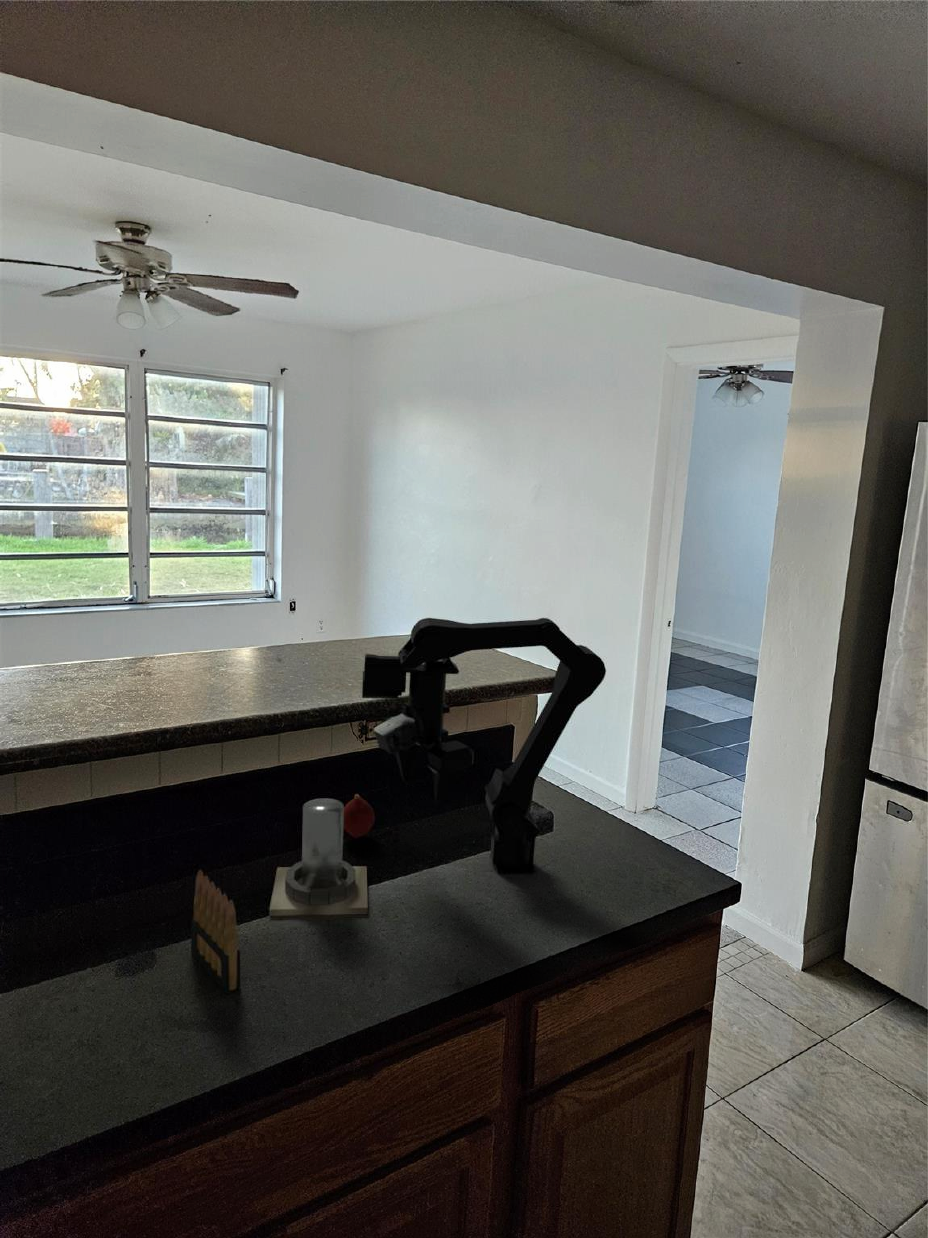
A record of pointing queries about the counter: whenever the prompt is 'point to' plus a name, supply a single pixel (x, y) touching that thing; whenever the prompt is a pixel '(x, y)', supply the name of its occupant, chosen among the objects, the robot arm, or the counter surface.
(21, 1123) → the counter surface
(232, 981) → the ammunition clip
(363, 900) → the socket plate
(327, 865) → the steel peg
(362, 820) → the onion
